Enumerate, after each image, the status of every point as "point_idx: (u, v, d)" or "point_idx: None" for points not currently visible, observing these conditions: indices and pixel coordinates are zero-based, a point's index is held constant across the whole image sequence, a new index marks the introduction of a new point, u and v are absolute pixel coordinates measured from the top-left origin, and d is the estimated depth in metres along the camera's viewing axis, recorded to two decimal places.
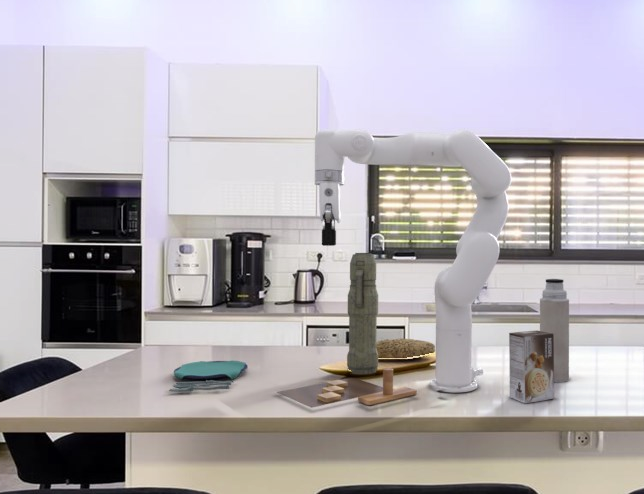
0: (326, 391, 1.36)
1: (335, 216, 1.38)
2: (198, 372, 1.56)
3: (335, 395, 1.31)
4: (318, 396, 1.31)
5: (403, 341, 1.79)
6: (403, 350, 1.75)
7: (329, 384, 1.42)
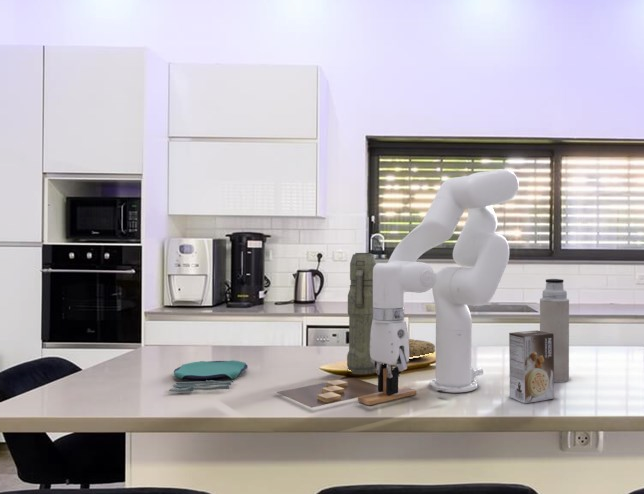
0: (326, 391, 1.36)
1: (407, 358, 1.29)
2: (198, 372, 1.56)
3: (335, 395, 1.31)
4: (318, 396, 1.31)
5: None
6: None
7: (329, 384, 1.42)
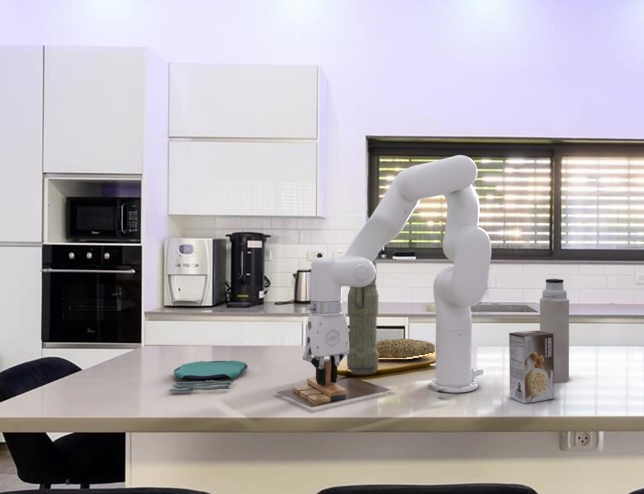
0: (303, 394, 1.33)
1: (312, 351, 1.31)
2: (198, 372, 1.56)
3: (324, 397, 1.29)
4: (308, 397, 1.30)
5: (403, 341, 1.79)
6: (403, 350, 1.75)
7: (294, 389, 1.37)
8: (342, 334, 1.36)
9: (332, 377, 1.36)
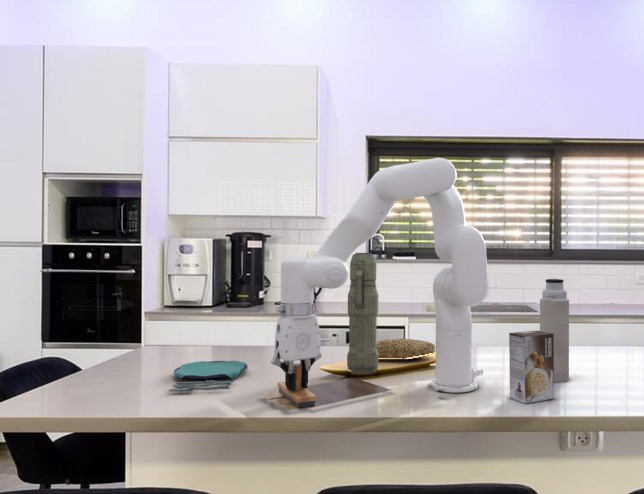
0: None
1: (280, 356, 1.26)
2: (198, 372, 1.56)
3: None
4: None
5: (403, 341, 1.79)
6: (403, 350, 1.75)
7: None
8: (313, 337, 1.30)
9: (303, 382, 1.31)
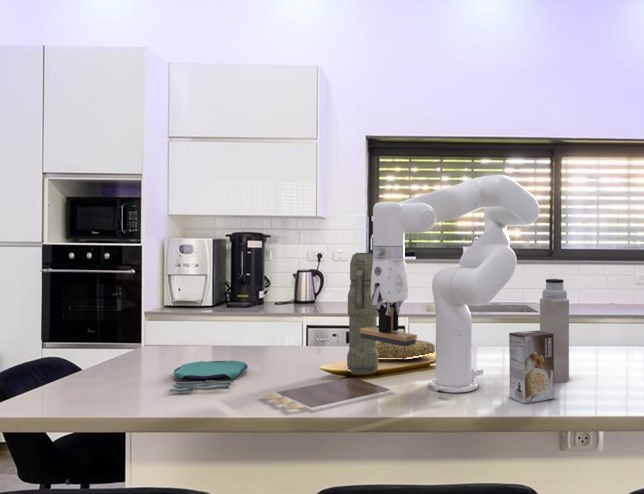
0: None
1: (383, 297, 1.27)
2: (198, 372, 1.56)
3: (298, 406, 1.25)
4: None
5: None
6: (403, 350, 1.75)
7: None
8: (404, 280, 1.33)
9: (393, 325, 1.33)
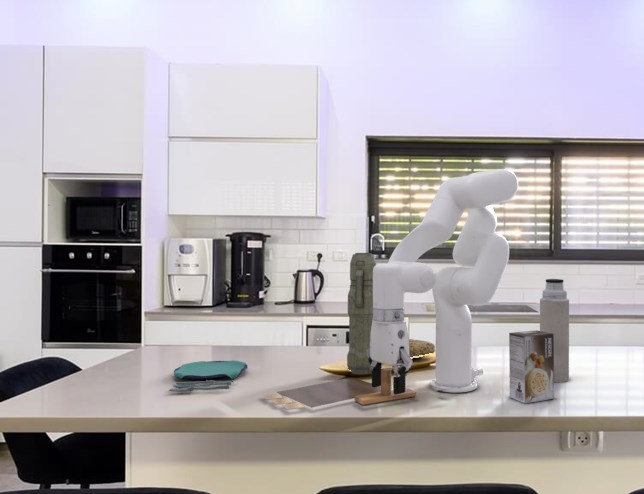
0: None
1: None
2: (198, 372, 1.56)
3: (298, 406, 1.25)
4: None
5: None
6: None
7: None
8: None
9: None
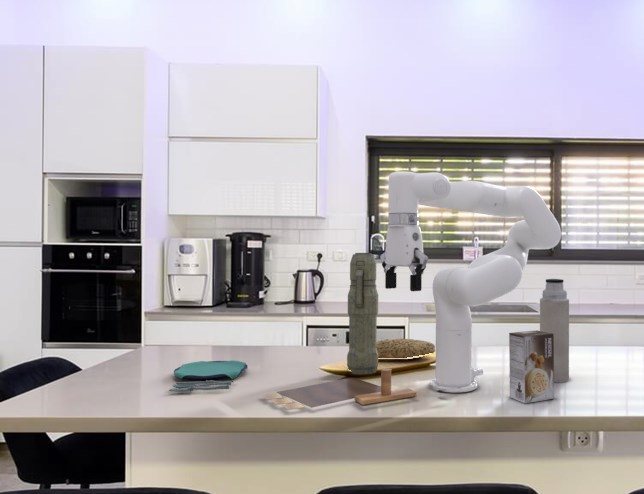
0: None
1: None
2: (198, 372, 1.56)
3: (298, 406, 1.25)
4: None
5: (403, 341, 1.79)
6: (403, 350, 1.75)
7: None
8: None
9: (394, 283, 1.43)
